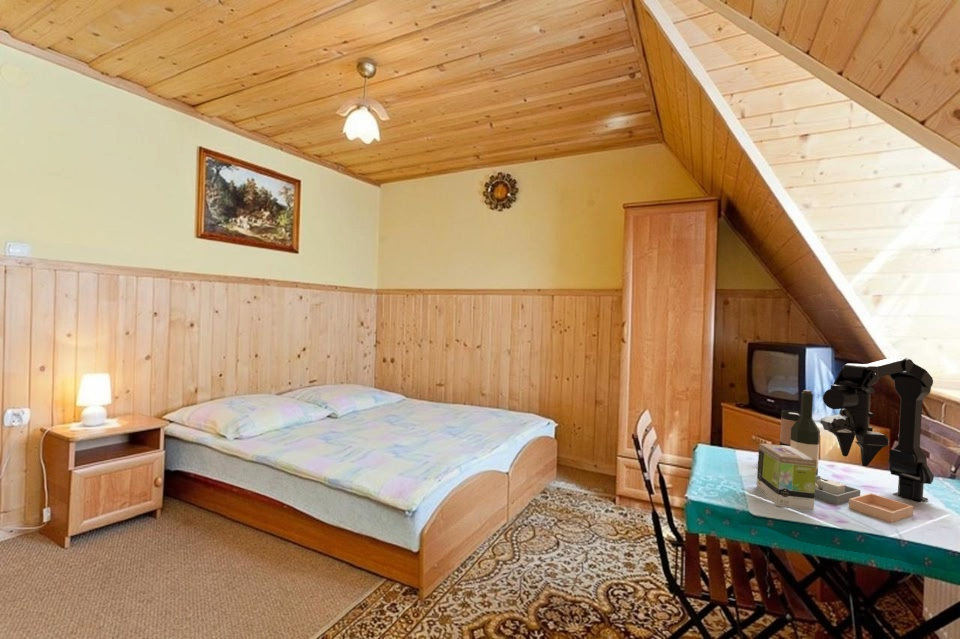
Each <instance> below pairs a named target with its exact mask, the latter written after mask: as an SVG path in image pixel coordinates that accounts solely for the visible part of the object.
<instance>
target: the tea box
mask: <svg viewBox="0 0 960 639" xmlns="http://www.w3.org/2000/svg"><path fill="white" fill-rule="evenodd" d="M757 458H758V459H757V475H756V488H757V489H758V491H759V490H760V492H762V493H763V494H764V495H765V496H766V497H767V498H768V499H769V500H770V501H771V502H772V503H773V504H774V505H776V507H780V508H788V509H790V508H797V509H798V508H799V509H809V510H814V509H815V497H814V496H815V482H816V468H817V460H816V459H814V458H812V457H810V456H809V455H807V454H805V453H803V452H801V451H799V450H798V449H796V448H794V447H792V446H783V445H780V444H772V443H771V444H770V443H758V457H757Z"/></svg>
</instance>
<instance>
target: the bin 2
mask: <svg viewBox="0 0 960 639" xmlns="http://www.w3.org/2000/svg"><path fill="white" fill-rule="evenodd" d="M848 509H851V510H855V511H858V512H861V513H864V514H866V515H869V516H872V517H874V518H877V519H880V520H884V521H886V522H889V523H895V522H898V521H900V520H901V521H902V520H903V519H906V518H909V517H912V516H913V515H914V506H913V505H911V504H907V503H904V502H901V501H897V500H895V499H891V498H888V497H885V496H882V495H877V494H875V493H872V492H869V493H866V494H862V495H860V496H858V497H854V498H851V499H849V502H848Z"/></svg>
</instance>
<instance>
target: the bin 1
mask: <svg viewBox="0 0 960 639" xmlns="http://www.w3.org/2000/svg"><path fill="white" fill-rule="evenodd" d="M818 479H822V480H824V481H829V479H826V478H823V477H822V476H820V475H818V476H817V475H816V480H818ZM844 485H845V493H843V494H839V495H834V494H831V493H828V492H825V491H823V490H820V489H815V496H814V499H818V500H822V501H825V502H827V503H830V504H833V505H842V504H845V503H849V499H851V498H854V497H858V496H861V489H858V488H855V487H851V486H849V485H846V484H844Z"/></svg>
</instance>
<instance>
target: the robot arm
mask: <svg viewBox="0 0 960 639" xmlns="http://www.w3.org/2000/svg"><path fill="white" fill-rule="evenodd" d="M887 376H888V377H889V378H890V379H891V380H892V381H893V383H894V385H893V386H894V390H895V392H896V393H897V395H898V396H899V398H900V405H899V406H900V407H899V408H900V410H899V424H898V425H899V427H898V428H899V429H898V443H897V445H896V446H895V447H894V448H891V449H890V450H889V454H888V455H889V457H888V466H889V470H890V471H889V472H890V475H892V476H897V477H898V483H897V484H898V486H897V492H894V493H892V495H893V496H896V497H900V498H903V499H906V500H910V501H913V502H915V503H916V502H917V503H921V502H922V503H923V502H926V501H929V498H927V497H925V496H924V488H925V486H924V484H925V485H927V484H928V485H932V483H933V481H934V479H935V478H934V477H935V475H934V474H933V472H932V470H931V469H930V467H929V466H928V460H927V456H926V454H925V453H924V451H923V450H922V448H921V434H922V433H921V432H922V418H923V417H922V415H923V413H922V412H923V402H924V401H923V400H925V399H926V397H928V395H929V394H930V393H931V390H932V386H933V385H934V380H933V377H932V376H931V375H930V373H929V372H928V371H927V370H926V369H925V368H923V367H921V366H919V365H918V364H915V363H914V361H913V360H912V359H911V358H908V357H899V356H898V357H897V356H891V357H888V358H887V359H886V358H885V359H882V360H877V361H874V362H870V363H863V364H862V363H846V364H844V365H843V367H842V368H841V369H840V371H839V373H838V375H837V377H836V378H835V380H834V382H833V384H831V385H830V388H829V389H827V390H826V391H825V392H824V393H823V395H822V400H823V403H824V405H825V406H826V407H828V408H829V409H830V410H839V414H834V415H829V416H826V417H821V418H820V423H821V425H822V427H823V430H824V431H828V432H829V433H831V434H833V435H834V436H835V437H836V439H837V443H838V445H839V448H840V451H841V452H840V453H841V455H842V457H848V456H849V454H850V450H851V449H852V446H853V443H854V440H855V439H856V441H855V443H856V444H857V446H858V447H859V448H860V459H861V466H862V467H866V468H867V467H868V466H869V465H870V463H871V462H872V461H873V459H874V458H875V457H876V456H877V455H878V453H879V452H880V451H881V450H882V449H883V448H884V449H885V448H886V447H888V446H890V444H889V443H890V438H889V437H888V436H887V435H886V434H883V433H881V432H878V431H873V429H874V427H871V426H870V418H874V413H872V412H870V410H871V409H870V408H871V393H872V394H873V393H875V392H876V391H875V389H874V388H873V387H871V386H873V385H874V384H876V383H878V382H879V379H880V378H883V377H887Z"/></svg>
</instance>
